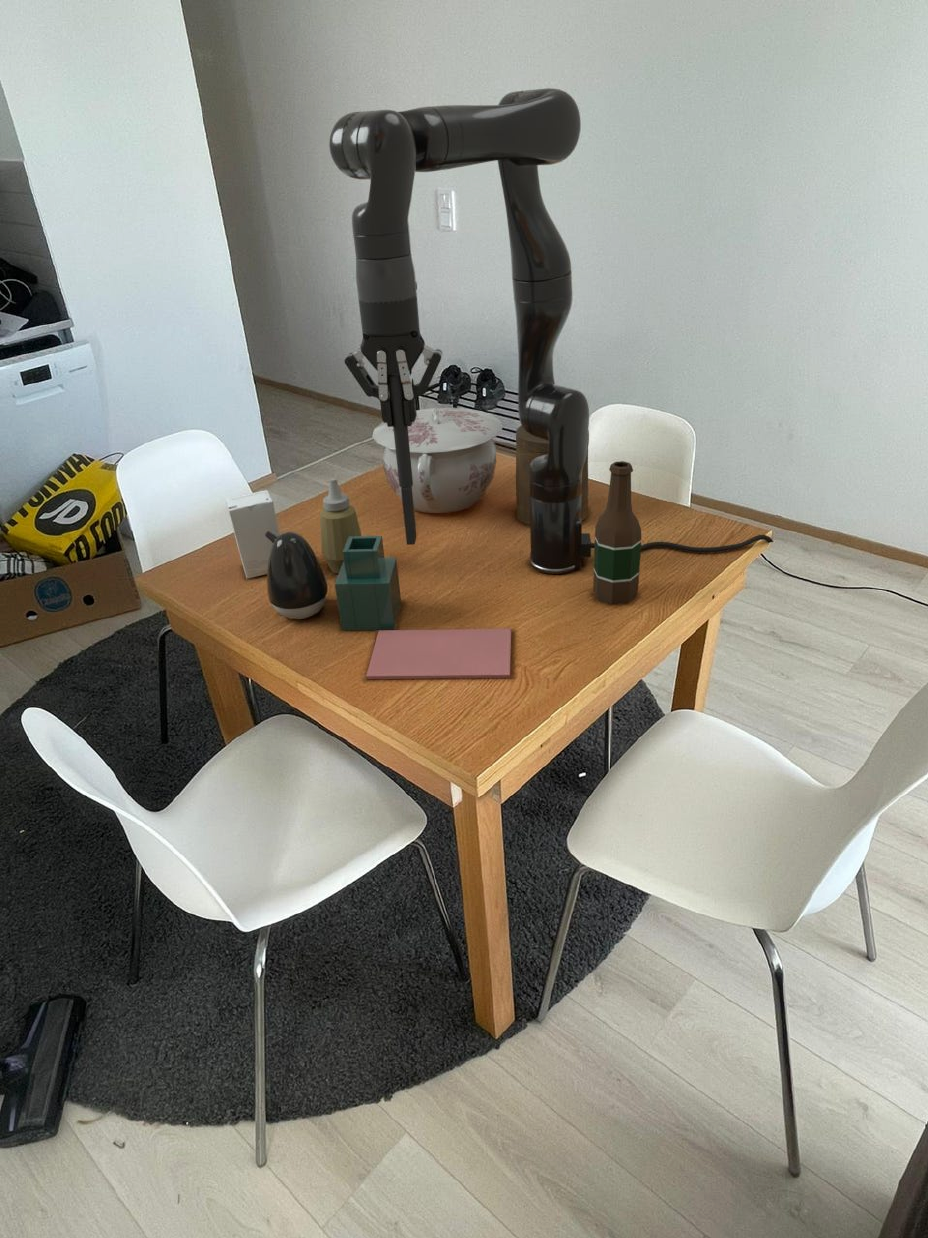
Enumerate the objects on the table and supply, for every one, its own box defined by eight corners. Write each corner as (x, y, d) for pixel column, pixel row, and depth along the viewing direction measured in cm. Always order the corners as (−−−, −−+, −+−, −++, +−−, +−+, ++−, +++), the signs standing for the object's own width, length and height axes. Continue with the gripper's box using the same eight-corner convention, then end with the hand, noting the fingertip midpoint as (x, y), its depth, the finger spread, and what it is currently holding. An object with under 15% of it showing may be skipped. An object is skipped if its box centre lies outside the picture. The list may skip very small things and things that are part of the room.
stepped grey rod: (419, 536, 125) (403, 371, 112) (417, 544, 123) (401, 376, 110) (406, 537, 125) (389, 371, 112) (404, 544, 123) (386, 377, 110)
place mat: (511, 631, 136) (511, 628, 135) (510, 678, 125) (509, 674, 124) (379, 633, 137) (378, 630, 137) (366, 679, 126) (366, 676, 126)
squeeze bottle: (359, 578, 154) (346, 488, 145) (318, 576, 156) (303, 487, 146) (372, 558, 161) (360, 471, 151) (332, 556, 162) (319, 470, 153)
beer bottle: (610, 610, 139) (616, 477, 127) (583, 591, 145) (587, 461, 133) (647, 597, 142) (656, 466, 130) (619, 579, 148) (626, 451, 136)
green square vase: (401, 602, 146) (393, 530, 138) (394, 629, 138) (385, 555, 131) (351, 603, 146) (340, 532, 139) (341, 630, 139) (330, 556, 131)
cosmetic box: (283, 558, 163) (269, 488, 155) (288, 571, 158) (274, 499, 150) (240, 567, 161) (224, 496, 153) (244, 580, 156) (228, 508, 148)
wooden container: (577, 496, 180) (579, 396, 169) (595, 524, 168) (599, 419, 156) (510, 503, 179) (508, 403, 168) (524, 532, 167) (522, 427, 155)
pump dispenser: (300, 591, 151) (286, 515, 143) (342, 605, 146) (330, 527, 138) (259, 616, 144) (242, 538, 136) (301, 632, 139) (286, 552, 131)
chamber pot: (447, 468, 199) (441, 382, 188) (530, 497, 181) (529, 405, 170) (354, 504, 183) (341, 413, 172) (434, 541, 166) (426, 442, 155)
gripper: (328, 301, 103) (346, 435, 112) (438, 296, 102) (447, 432, 111) (340, 290, 109) (356, 417, 118) (443, 285, 108) (451, 414, 117)
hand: (400, 424), depth 115 cm, fingers closed on stepped grey rod, 2 cm apart
